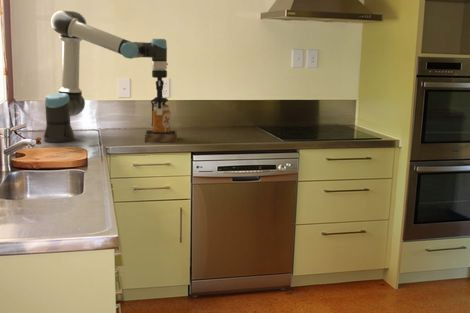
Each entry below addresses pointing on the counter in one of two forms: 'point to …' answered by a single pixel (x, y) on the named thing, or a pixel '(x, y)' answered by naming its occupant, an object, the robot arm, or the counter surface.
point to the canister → (160, 118)
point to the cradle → (161, 137)
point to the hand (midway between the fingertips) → (159, 113)
